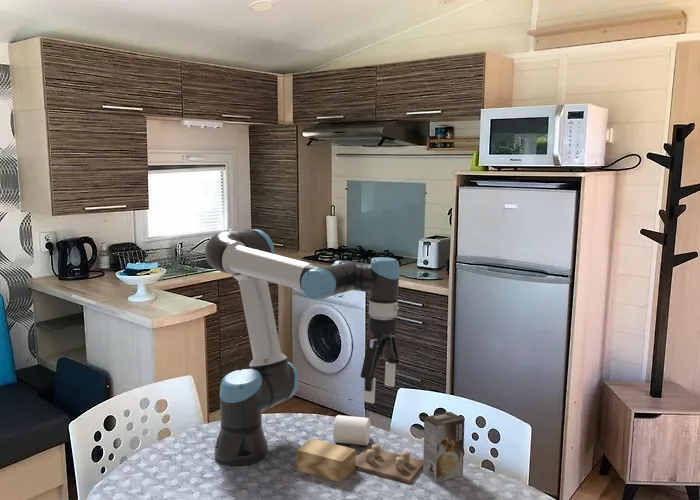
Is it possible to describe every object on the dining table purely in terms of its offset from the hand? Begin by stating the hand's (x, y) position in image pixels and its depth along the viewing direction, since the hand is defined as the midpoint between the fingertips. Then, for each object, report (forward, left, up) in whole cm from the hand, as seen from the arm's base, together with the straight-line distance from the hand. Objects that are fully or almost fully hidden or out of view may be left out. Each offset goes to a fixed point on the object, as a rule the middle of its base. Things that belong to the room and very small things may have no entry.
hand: (379, 393), depth 157 cm
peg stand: (+1, +4, -22) cm, 23 cm away
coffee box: (+16, +7, -22) cm, 28 cm away
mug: (-15, +14, -23) cm, 31 cm away
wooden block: (-13, -6, -23) cm, 27 cm away
